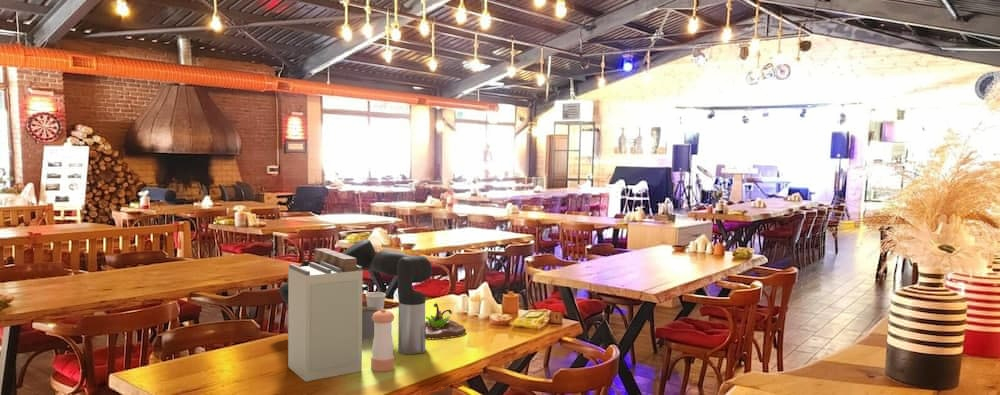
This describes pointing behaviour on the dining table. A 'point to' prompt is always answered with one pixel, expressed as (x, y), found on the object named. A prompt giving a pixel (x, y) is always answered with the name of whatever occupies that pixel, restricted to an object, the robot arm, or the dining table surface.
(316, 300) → the cabinet
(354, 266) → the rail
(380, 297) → the dixie cup
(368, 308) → the coffee mug
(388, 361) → the pepper shaker
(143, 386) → the dining table surface
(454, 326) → the plant
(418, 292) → the robot arm
